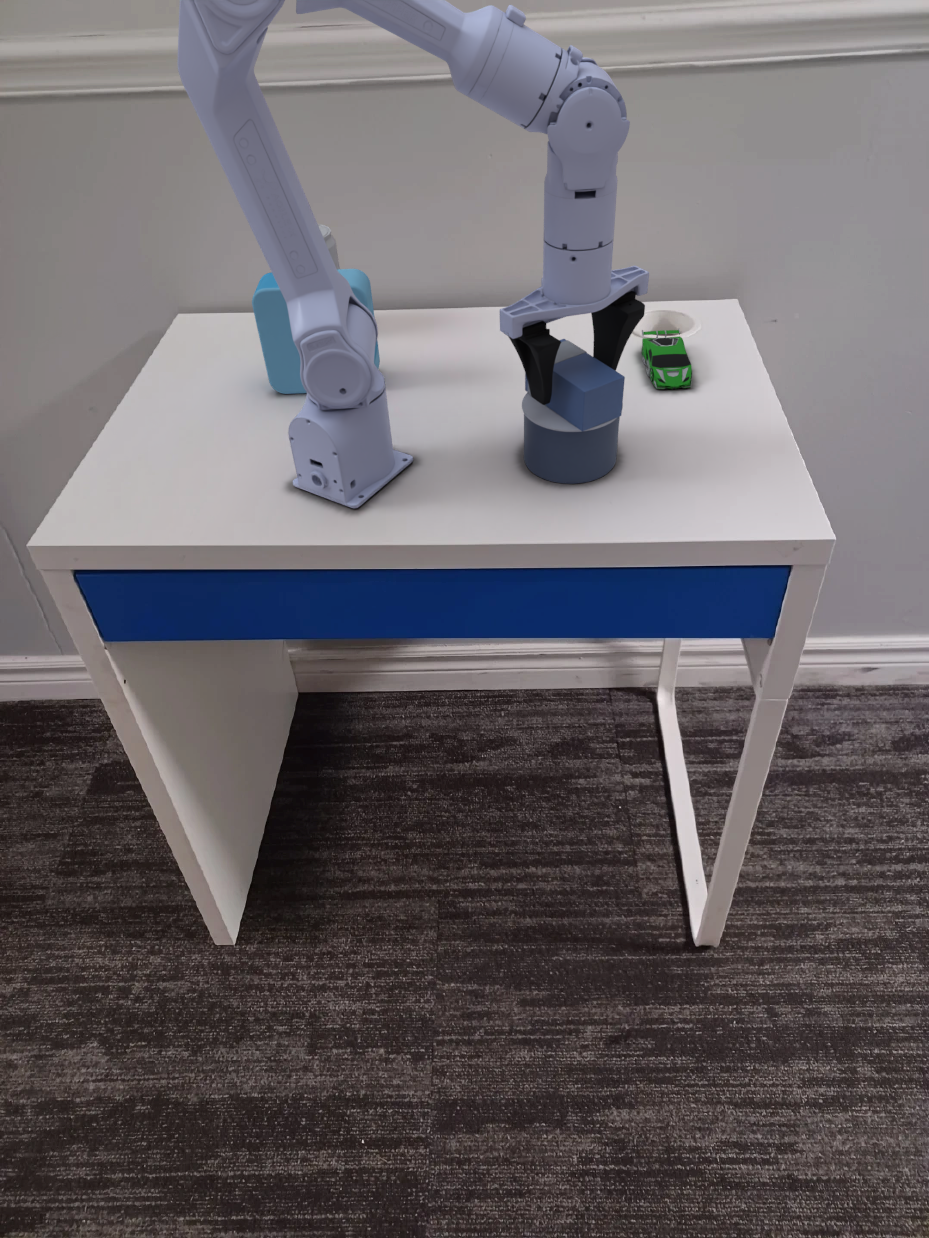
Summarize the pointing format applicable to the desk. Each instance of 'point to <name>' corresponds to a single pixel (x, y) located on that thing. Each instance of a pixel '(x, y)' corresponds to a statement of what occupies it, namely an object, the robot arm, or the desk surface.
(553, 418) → the yogurt tub
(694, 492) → the desk surface
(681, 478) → the desk surface
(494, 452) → the desk surface
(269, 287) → the data package
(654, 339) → the toy car
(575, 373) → the block
